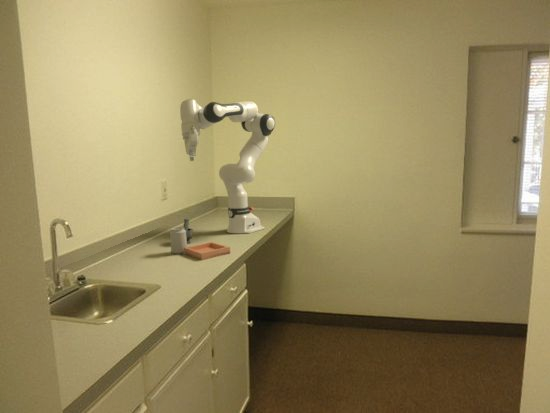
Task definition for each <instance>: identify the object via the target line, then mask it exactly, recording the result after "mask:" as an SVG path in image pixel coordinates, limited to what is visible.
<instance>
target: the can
mask: <svg viewBox="0 0 550 413" xmlns="http://www.w3.org/2000/svg"><path fill="white" fill-rule="evenodd" d="M169 231H170V232H169V238H170V240H169V241H170V252H171V253H172V254H173V255H182V254H184V248H186V247H188V244H187V239H186V230H184V227H183V226H180V227H179V226H176V227H172V228H170V230H169Z"/></svg>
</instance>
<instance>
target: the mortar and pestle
mask: <svg viewBox="0 0 550 413" xmlns="http://www.w3.org/2000/svg"><path fill="white" fill-rule="evenodd" d="M189 224H190V219H189V218H185V219H184V220H183V226H182V227H184V230H186V239H187V245H188V244H191V239H192V238H193V235H194V233H193V232H194V229H193V228H189Z"/></svg>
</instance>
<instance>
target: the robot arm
mask: <svg viewBox="0 0 550 413" xmlns="http://www.w3.org/2000/svg"><path fill="white" fill-rule="evenodd" d="M179 108H180V112H179V114H180V120H181V124H180V125H181V135H182V139H183V140H184V141H183V142H184V146H185V152H186V154H187V155H188V157H189V161H190V162H194V160H195V158H194V157H196V156H197V147H198V145H199V138H198V137H199V136H200V135H201V131H200V129H201V130H206V129H208V128H210V127H211V126H212V127H213V126H214V125H215V124H216V123H217V124H218V123H219V122H221V121H223V120H224V119H225V118H228V119H229V120H230V121H231V122H232V123H240V124H241V127H242V129H243V130H244V131H245V132H248V133H251V136H250V138H249V139H248V140H247V141H246V143H245V144H244V146H243V147H242V149H241V150H240V152H239V161H238V162H237V163H227V164H224V165H222V166H221V167H220V168H219V170H218V175H219V177H220V180H222V181H223V184H224V186H225V189H226V192H227V201H228V202H227V203H228V208H227V213H228V225H227V230H226V232H227V233H229V234H251V233H252V234H253V233H255V232H258V231H261V230H264V229H265V226H264V225H261V220H260V218H259V217H258V216H256V215H255V214H253V213H252V211H254V210H255V208H254V206H249V201H248V198H249V197H248V192H247V191H246V190H245V188H244V186H243V185H245V184H250V183H252V182H253V181H254V180H255V177H256V170H255V167H256V164H257V162H258V160H259V159H260V158H261V157H262V154H263V153H264V151H265V150H266V147H267V145H268V143H269V138H268V136H270V135H271V134H272V132H273V131H274V130H275V127H276V120H275V117H274V116H273V115H271V114H268V113H261V112H260V113H259V107H258V105H257V104H256V103H255V102H254V101H248V100H243V101H237V102H233V103H219V102H216V101H212V102H211V101H210V102H209V103H208V104H206V105H205V106H204V107H202V106H201V105H200V104H198V102H197V101H196V99H192V98H190V99H186V100H184V101H182V102H181V103H180V106H179Z"/></svg>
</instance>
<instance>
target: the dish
mask: <svg viewBox="0 0 550 413" xmlns="http://www.w3.org/2000/svg"><path fill="white" fill-rule="evenodd" d="M183 254H184V255H186V256H189V257H192V258H195V259H198V260H201V261H205V260H208V258H209V259H212V258H216V256H217V257H220V255H221V256H224V255H229V254H231V247H230V246H228V245H224V244H222V243H218V242H214V241H210V242H209V241H208V242H205V243H200V244H196V245H191V246H190V245H189V246H187V247H186V248H184V253H183Z"/></svg>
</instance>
